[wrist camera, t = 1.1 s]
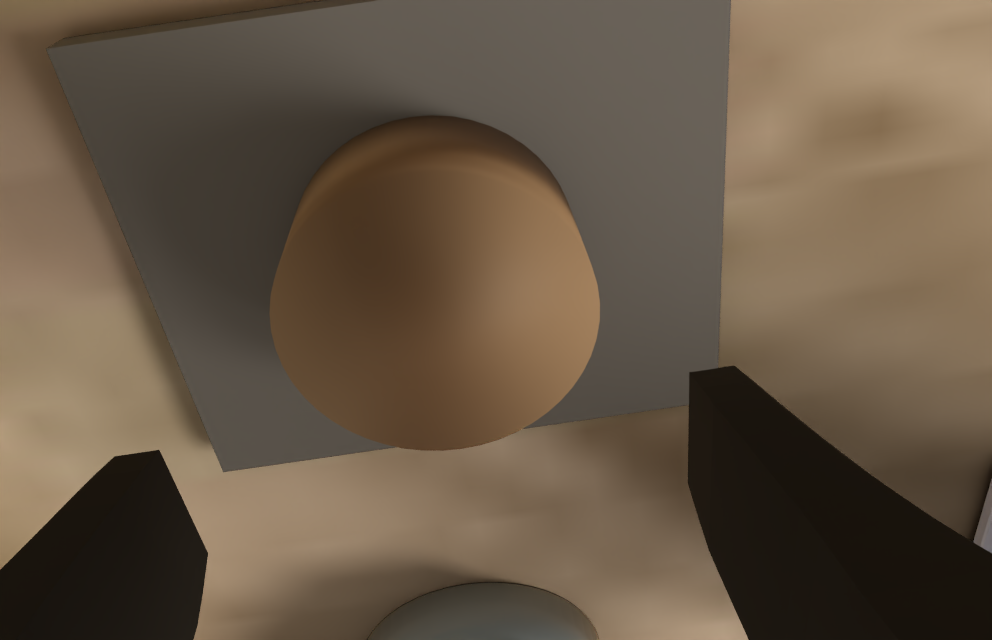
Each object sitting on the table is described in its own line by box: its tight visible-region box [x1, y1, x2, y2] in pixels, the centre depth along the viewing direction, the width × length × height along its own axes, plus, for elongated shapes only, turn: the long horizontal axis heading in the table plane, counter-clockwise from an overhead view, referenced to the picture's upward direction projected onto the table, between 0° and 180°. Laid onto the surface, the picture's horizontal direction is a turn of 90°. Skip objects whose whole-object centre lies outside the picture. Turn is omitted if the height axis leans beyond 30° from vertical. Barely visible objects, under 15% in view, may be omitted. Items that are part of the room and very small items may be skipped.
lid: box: [269, 115, 600, 450], centre depth 15 cm, size 6×6×3 cm
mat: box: [46, 0, 731, 472], centre depth 17 cm, size 12×10×1 cm
